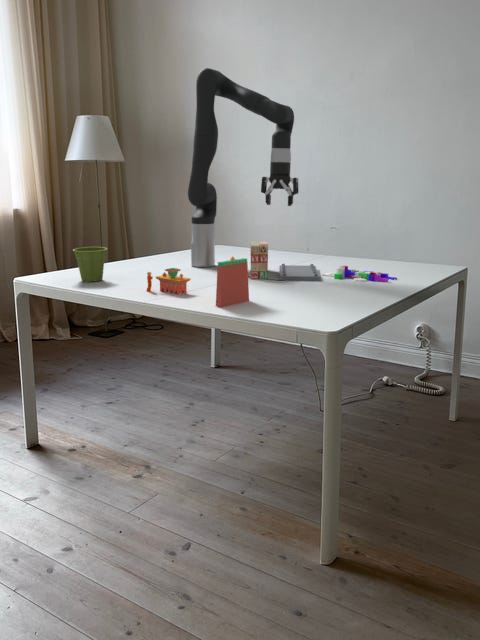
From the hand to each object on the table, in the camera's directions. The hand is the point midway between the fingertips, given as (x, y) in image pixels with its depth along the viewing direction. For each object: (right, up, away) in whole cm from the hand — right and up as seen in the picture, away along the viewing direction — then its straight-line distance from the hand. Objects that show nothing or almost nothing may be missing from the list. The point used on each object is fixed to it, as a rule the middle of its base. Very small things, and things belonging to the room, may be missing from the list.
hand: (279, 205), depth 238 cm
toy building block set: (-29, -36, -42) cm, 63 cm away
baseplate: (+7, -26, -2) cm, 27 cm away
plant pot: (-67, -30, -15) cm, 75 cm away
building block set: (+30, -28, -5) cm, 42 cm away
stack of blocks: (-8, -26, -1) cm, 28 cm away
